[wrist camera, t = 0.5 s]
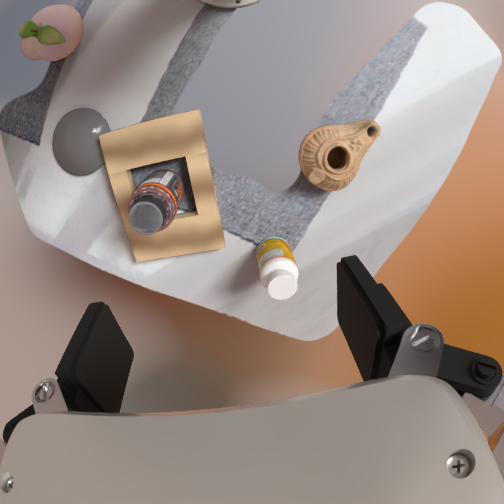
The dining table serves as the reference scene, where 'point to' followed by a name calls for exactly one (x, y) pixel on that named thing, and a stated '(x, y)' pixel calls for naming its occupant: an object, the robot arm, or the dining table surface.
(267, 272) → the supplement bottle
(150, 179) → the supplement bottle
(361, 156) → the pottery oil lamp
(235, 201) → the dining table surface
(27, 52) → the decorative fruit
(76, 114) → the slate coaster
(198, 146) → the holder board
